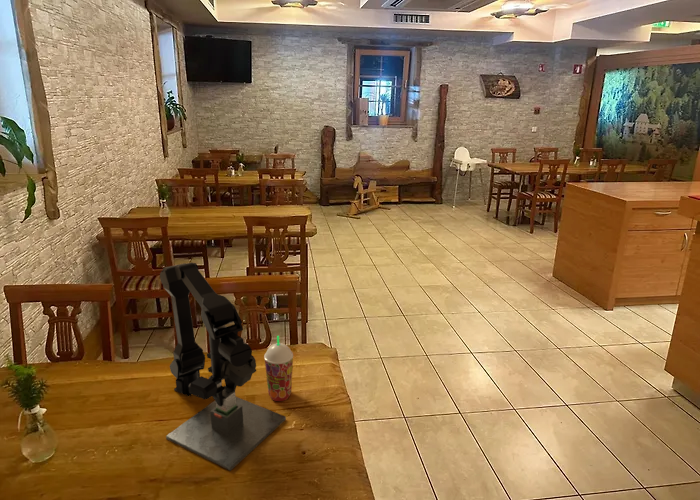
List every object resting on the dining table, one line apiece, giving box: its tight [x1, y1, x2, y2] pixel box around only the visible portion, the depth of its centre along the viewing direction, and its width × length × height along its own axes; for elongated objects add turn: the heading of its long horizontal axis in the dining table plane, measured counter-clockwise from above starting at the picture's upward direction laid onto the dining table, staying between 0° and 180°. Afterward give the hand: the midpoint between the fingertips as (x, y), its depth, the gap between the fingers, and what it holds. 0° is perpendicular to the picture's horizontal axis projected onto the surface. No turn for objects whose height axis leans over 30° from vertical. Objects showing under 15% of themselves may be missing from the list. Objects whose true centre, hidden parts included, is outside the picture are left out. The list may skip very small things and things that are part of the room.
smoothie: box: [263, 335, 294, 402], centre depth 140 cm, size 8×8×20 cm
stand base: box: [165, 396, 287, 472], centre depth 128 cm, size 22×22×6 cm
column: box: [216, 385, 237, 416], centre depth 126 cm, size 4×4×9 cm
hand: (225, 401), depth 126 cm, fingers closed on column, 4 cm apart
